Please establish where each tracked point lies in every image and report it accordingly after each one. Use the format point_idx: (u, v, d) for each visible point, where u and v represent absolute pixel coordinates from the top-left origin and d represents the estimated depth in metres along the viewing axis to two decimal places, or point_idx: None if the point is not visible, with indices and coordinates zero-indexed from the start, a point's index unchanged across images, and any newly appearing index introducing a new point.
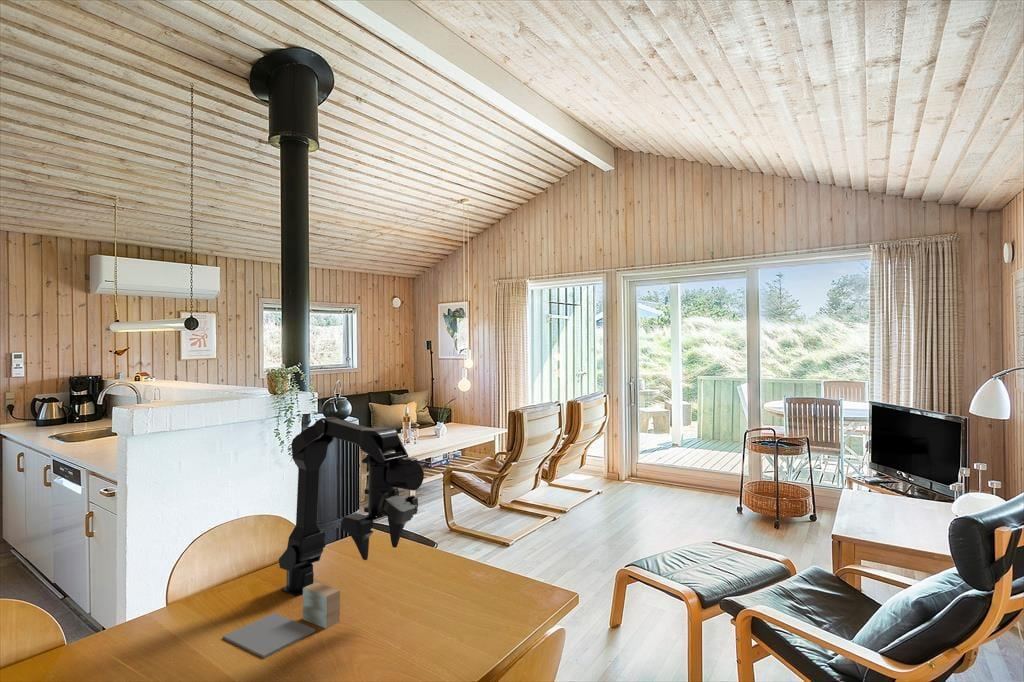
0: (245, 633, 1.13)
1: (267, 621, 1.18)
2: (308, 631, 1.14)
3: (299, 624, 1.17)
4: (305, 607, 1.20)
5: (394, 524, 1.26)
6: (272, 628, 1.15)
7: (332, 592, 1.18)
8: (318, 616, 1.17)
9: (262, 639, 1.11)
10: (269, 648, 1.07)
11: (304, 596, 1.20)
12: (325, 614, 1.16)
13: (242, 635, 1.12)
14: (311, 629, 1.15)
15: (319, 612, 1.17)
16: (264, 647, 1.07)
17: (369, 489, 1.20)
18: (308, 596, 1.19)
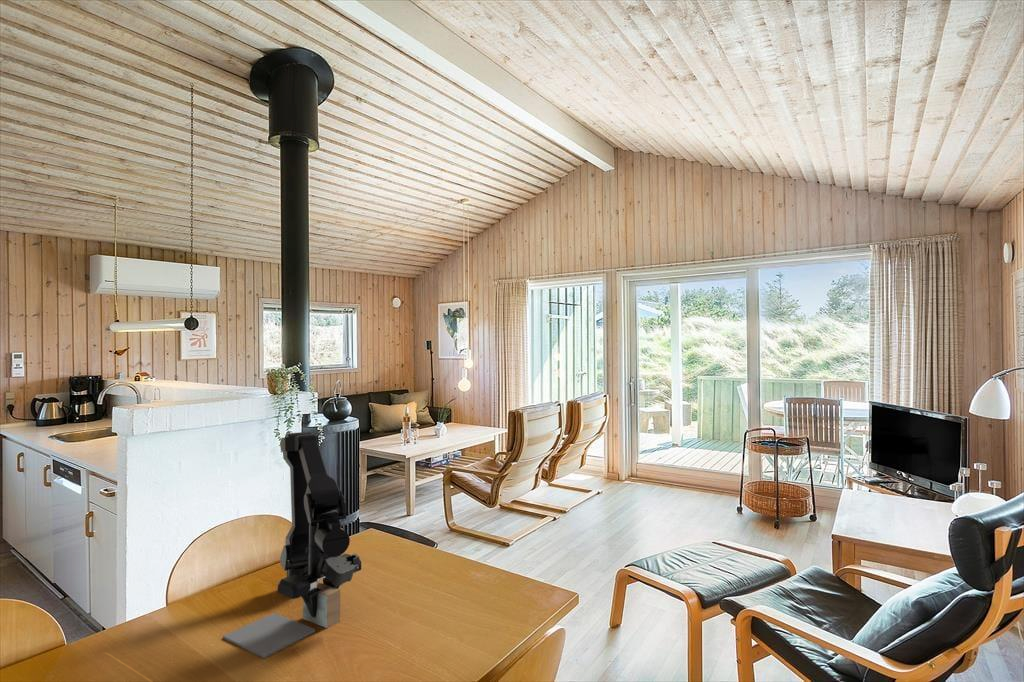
0: (245, 633, 1.13)
1: (267, 621, 1.18)
2: (308, 631, 1.14)
3: (299, 624, 1.17)
4: (305, 607, 1.20)
5: (328, 585, 1.22)
6: (272, 628, 1.15)
7: (332, 591, 1.18)
8: (318, 615, 1.18)
9: (262, 639, 1.11)
10: (269, 648, 1.07)
11: None
12: (325, 613, 1.16)
13: (242, 635, 1.12)
14: (311, 629, 1.15)
15: (319, 611, 1.17)
16: (264, 647, 1.07)
17: (309, 549, 1.19)
18: None
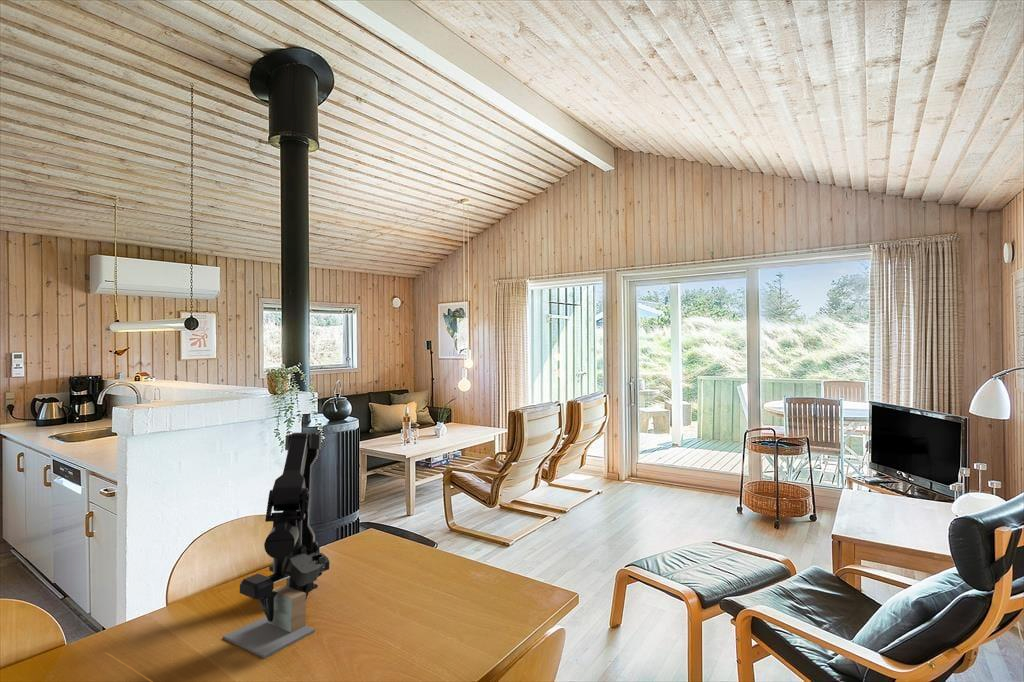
0: (245, 633, 1.13)
1: (267, 621, 1.18)
2: (308, 631, 1.14)
3: None
4: None
5: None
6: (272, 628, 1.15)
7: (297, 595, 1.15)
8: (283, 620, 1.14)
9: (262, 639, 1.11)
10: (269, 648, 1.07)
11: None
12: (290, 618, 1.13)
13: (242, 635, 1.12)
14: (311, 629, 1.15)
15: (284, 616, 1.14)
16: (264, 647, 1.07)
17: None
18: None
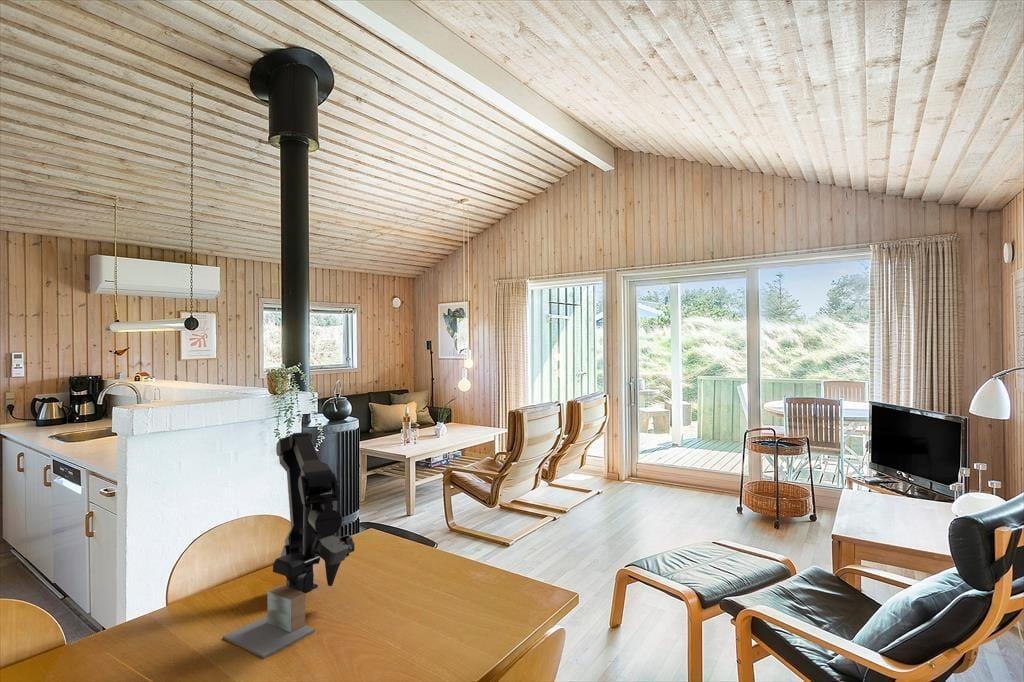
0: (245, 633, 1.13)
1: (267, 621, 1.18)
2: (308, 631, 1.14)
3: None
4: (270, 611, 1.17)
5: None
6: (272, 628, 1.15)
7: (297, 595, 1.15)
8: (282, 620, 1.14)
9: (262, 639, 1.11)
10: (269, 648, 1.07)
11: (269, 599, 1.17)
12: (289, 618, 1.13)
13: (242, 635, 1.12)
14: (311, 629, 1.15)
15: (283, 616, 1.14)
16: (264, 647, 1.07)
17: (303, 529, 1.22)
18: (272, 599, 1.16)
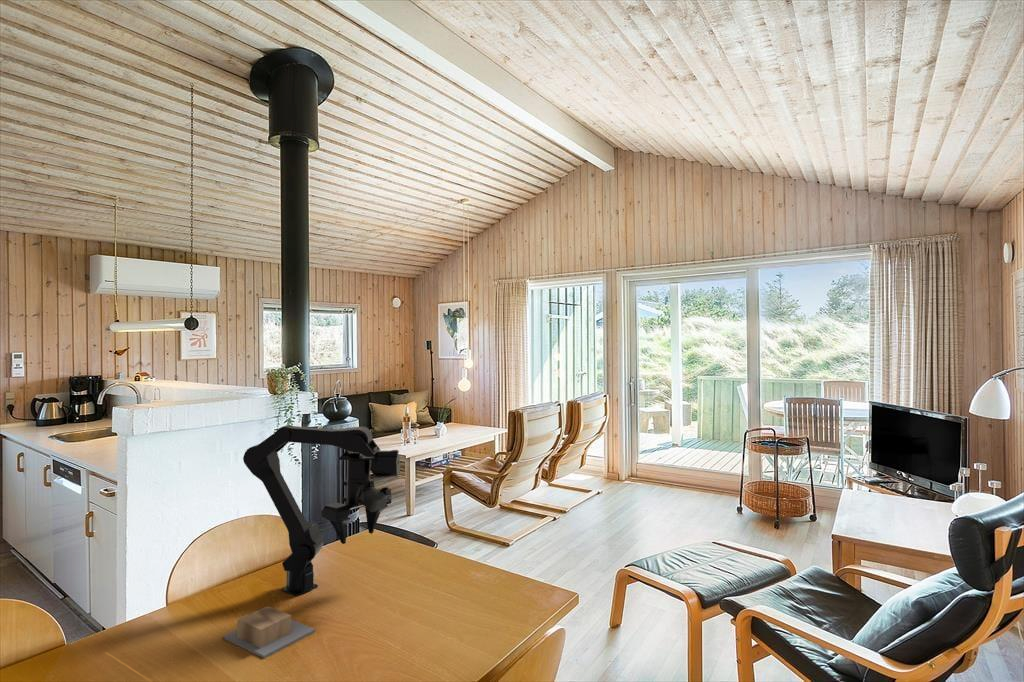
0: None
1: None
2: (308, 631, 1.14)
3: (299, 624, 1.17)
4: None
5: (370, 513, 1.41)
6: None
7: (259, 637, 1.08)
8: None
9: None
10: (269, 648, 1.07)
11: None
12: None
13: None
14: (311, 629, 1.15)
15: None
16: (264, 647, 1.07)
17: (347, 481, 1.36)
18: None
